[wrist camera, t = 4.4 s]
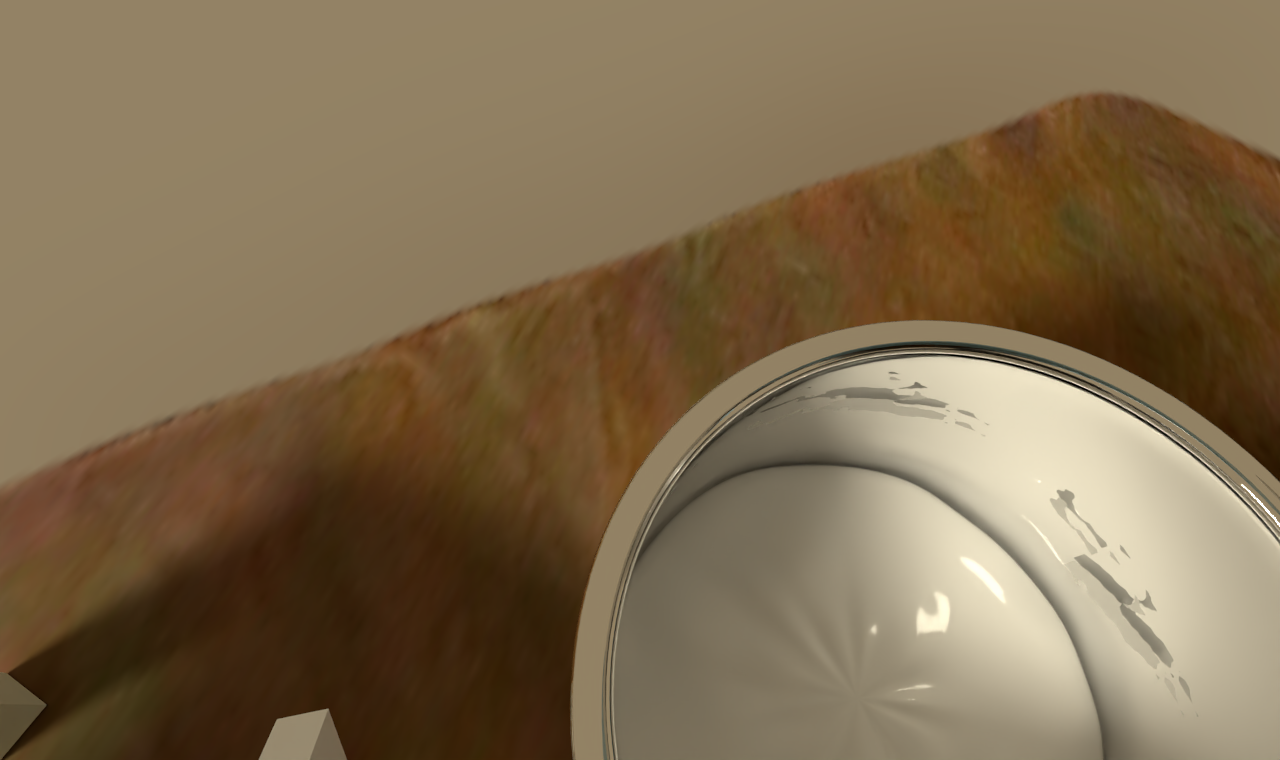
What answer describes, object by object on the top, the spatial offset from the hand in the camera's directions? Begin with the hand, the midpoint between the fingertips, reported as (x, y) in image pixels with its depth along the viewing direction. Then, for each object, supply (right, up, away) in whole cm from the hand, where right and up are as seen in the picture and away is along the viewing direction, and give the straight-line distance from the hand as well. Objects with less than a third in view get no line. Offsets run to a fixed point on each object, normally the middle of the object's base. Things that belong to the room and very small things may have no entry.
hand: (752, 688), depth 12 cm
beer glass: (+1, -4, +8) cm, 9 cm away
